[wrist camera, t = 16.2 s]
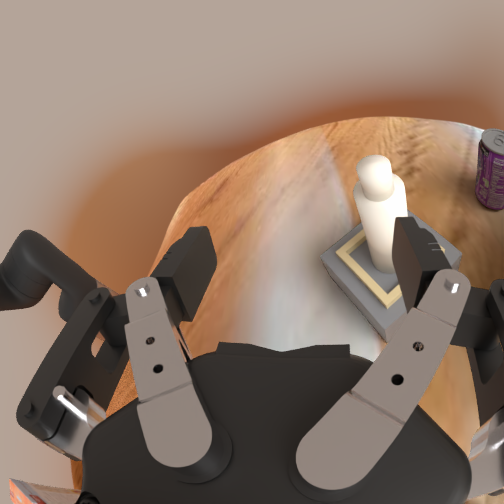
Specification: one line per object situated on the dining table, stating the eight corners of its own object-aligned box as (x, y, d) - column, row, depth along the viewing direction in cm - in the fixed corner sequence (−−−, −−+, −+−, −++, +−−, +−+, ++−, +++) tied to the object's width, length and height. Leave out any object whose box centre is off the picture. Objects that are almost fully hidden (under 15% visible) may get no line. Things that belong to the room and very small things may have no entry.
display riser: (330, 276, 43) (317, 252, 38) (394, 222, 42) (389, 192, 37) (387, 343, 33) (384, 327, 28) (456, 276, 32) (463, 248, 27)
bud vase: (363, 256, 35) (334, 170, 25) (391, 232, 35) (372, 141, 24) (389, 281, 32) (373, 196, 21) (418, 255, 31) (412, 162, 21)
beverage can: (486, 176, 36) (490, 121, 28) (514, 197, 31) (525, 142, 23) (467, 195, 37) (470, 139, 28) (497, 219, 32) (509, 163, 23)
